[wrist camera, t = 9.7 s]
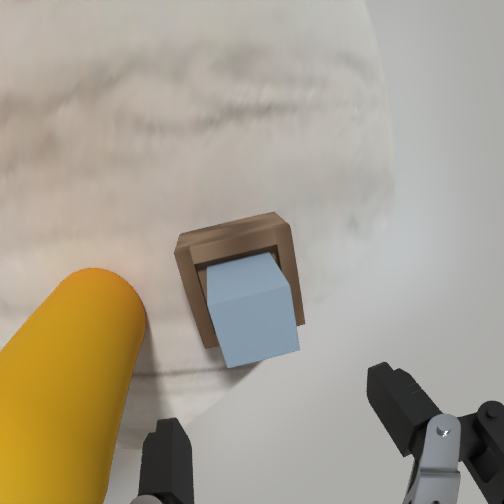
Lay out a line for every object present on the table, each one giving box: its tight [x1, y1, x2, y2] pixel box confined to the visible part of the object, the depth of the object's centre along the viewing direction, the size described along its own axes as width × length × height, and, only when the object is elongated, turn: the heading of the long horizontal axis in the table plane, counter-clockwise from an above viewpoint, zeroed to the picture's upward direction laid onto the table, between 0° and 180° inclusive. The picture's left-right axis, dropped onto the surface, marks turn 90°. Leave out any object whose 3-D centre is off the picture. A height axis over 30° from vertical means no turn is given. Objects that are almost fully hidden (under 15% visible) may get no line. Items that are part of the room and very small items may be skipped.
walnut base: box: [174, 212, 305, 349], centre depth 24 cm, size 8×8×5 cm
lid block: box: [207, 251, 300, 368], centre depth 20 cm, size 4×4×6 cm
